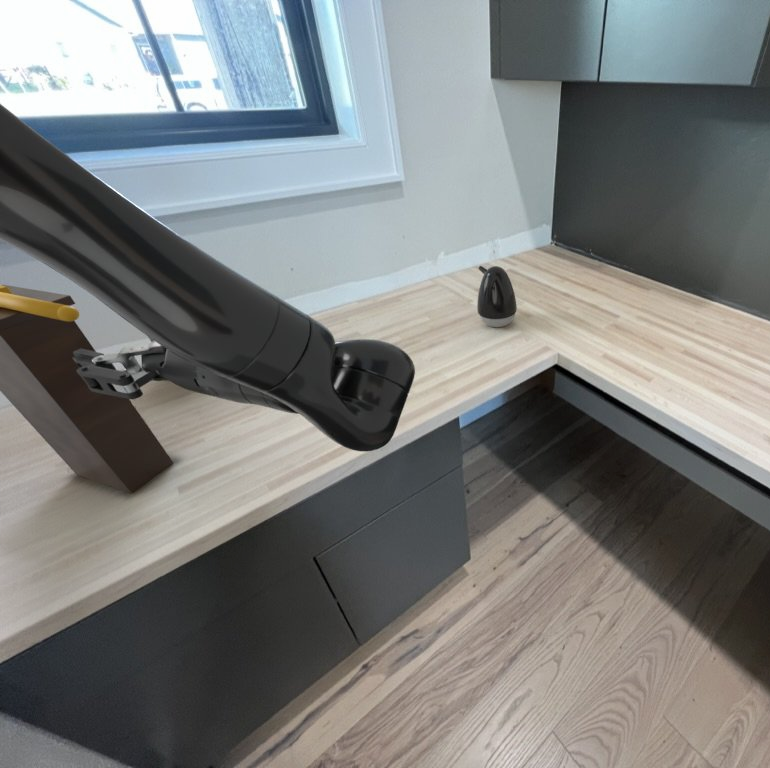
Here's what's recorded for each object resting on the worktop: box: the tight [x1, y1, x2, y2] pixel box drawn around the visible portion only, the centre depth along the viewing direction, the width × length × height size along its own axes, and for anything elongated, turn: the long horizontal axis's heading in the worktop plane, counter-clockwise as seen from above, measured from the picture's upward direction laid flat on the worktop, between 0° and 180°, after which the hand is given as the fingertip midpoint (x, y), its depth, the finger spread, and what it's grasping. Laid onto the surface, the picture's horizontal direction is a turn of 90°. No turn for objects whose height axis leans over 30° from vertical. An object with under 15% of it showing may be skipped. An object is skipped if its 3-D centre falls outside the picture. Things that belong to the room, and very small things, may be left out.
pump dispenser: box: [476, 265, 518, 328], centre depth 106 cm, size 10×10×15 cm
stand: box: [0, 284, 174, 494], centre depth 61 cm, size 14×9×30 cm, turn 72°
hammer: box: [0, 284, 80, 322], centre depth 51 cm, size 23×4×2 cm, turn 70°
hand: (121, 339), depth 48 cm, fingers open, 8 cm apart
